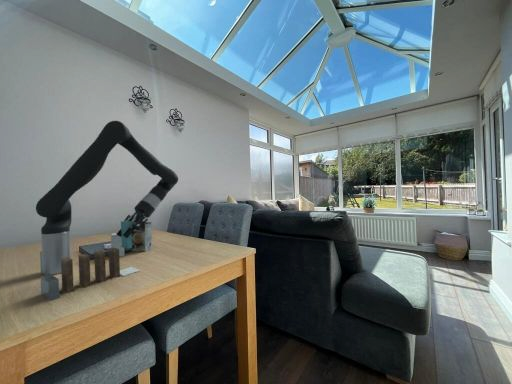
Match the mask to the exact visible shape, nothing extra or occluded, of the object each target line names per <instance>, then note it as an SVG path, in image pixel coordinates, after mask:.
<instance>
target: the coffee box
mask: <svg viewBox="0 0 512 384" xmlns="http://www.w3.org/2000/svg"><path fill="white" fill-rule="evenodd" d="M152 237H153V235H152V222H149V221H146V222H145V223H144V224H143V225H142V226H141V227H140V228H139V229H138V230H137V229H136V230H135V231H133V232H132V247H133V248H131V252H148V251H150V250H152V249H153V238H152Z"/></svg>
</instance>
